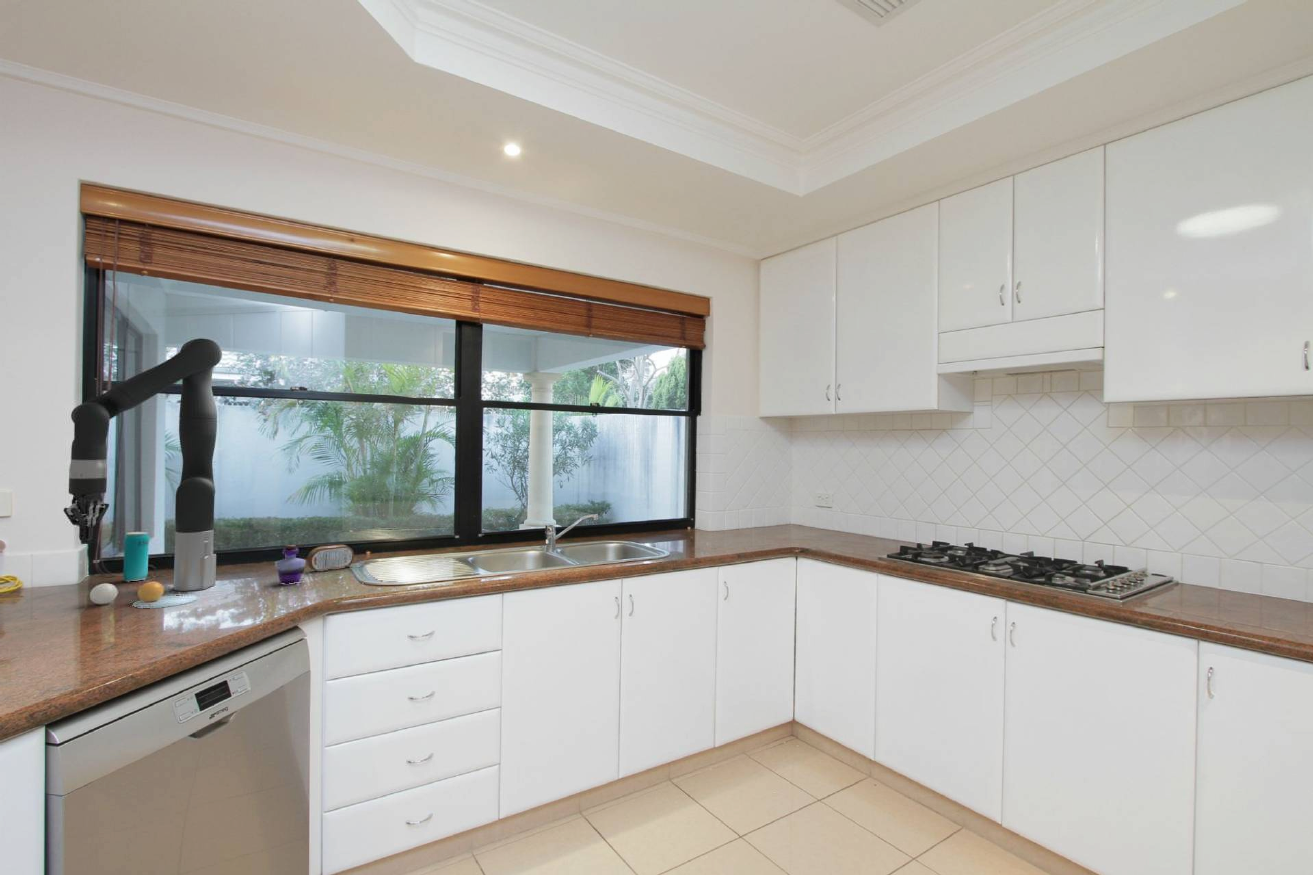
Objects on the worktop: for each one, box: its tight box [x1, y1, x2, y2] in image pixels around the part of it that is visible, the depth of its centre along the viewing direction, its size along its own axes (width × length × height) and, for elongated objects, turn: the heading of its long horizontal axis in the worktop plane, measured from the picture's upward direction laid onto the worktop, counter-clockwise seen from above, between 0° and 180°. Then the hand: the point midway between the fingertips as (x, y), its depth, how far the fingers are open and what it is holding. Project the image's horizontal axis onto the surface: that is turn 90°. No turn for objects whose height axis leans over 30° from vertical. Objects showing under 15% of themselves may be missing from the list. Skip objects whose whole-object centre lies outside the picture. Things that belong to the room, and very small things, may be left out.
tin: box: [306, 544, 355, 571], centre depth 211 cm, size 15×3×8 cm, turn 141°
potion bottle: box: [274, 544, 307, 584], centre depth 191 cm, size 9×9×12 cm
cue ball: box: [89, 582, 118, 605], centre depth 163 cm, size 6×6×6 cm
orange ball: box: [137, 581, 165, 602], centre depth 166 cm, size 6×6×6 cm
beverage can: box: [123, 531, 150, 583], centre depth 189 cm, size 6×6×15 cm
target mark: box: [131, 593, 198, 609], centre depth 167 cm, size 14×14×1 cm
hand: (86, 539), depth 164 cm, fingers closed
